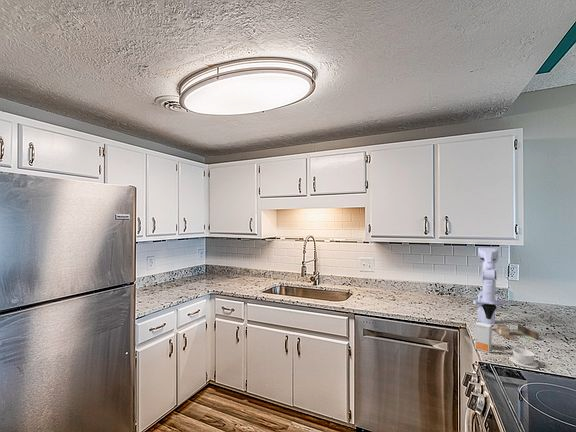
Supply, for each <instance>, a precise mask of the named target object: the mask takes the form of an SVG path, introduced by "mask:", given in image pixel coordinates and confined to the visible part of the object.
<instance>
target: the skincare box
mask: <svg viewBox="0 0 576 432" xmlns="http://www.w3.org/2000/svg"><path fill="white" fill-rule="evenodd" d="M492 329H493V324H486V323H482V322H481V321H480V322H479V321H476V323H475V324H474V350H477V351H481V352H485V353H487V354H490V352H491V351H492V341H493V340H492V338H493V337H492V336H493V335H492V334H493V333H492V332H493V330H492Z"/></svg>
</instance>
